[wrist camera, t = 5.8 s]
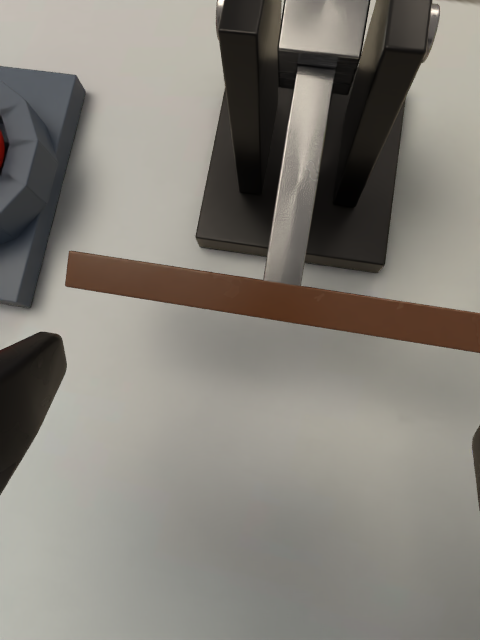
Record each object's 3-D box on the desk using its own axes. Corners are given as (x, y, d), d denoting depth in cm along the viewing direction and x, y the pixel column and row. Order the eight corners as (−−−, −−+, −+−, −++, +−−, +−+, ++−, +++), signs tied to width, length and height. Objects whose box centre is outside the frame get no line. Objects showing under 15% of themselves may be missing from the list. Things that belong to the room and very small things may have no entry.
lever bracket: (378, 273, 20) (485, 150, 10) (199, 247, 20) (137, 107, 11) (401, 90, 21) (514, -171, 11) (233, 71, 22) (207, -190, 12)
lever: (479, 348, 14) (518, 361, 12) (89, 286, 15) (53, 286, 13) (547, 19, 13) (604, -38, 11) (125, -21, 14) (93, -81, 12)
